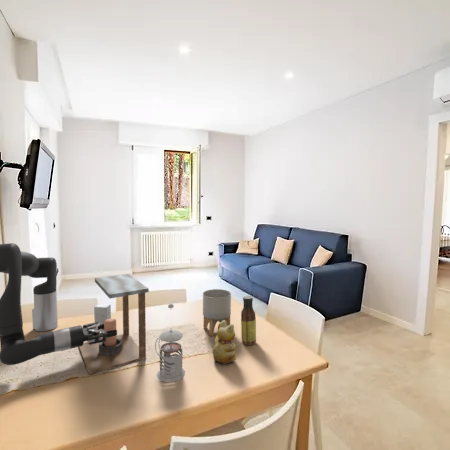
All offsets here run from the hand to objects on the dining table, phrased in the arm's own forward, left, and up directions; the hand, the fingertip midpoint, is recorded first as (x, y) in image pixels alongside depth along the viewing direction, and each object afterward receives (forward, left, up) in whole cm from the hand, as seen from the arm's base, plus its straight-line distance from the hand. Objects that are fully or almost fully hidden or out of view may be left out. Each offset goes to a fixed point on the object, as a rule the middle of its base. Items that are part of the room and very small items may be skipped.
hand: (114, 328), depth 118 cm
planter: (+38, +24, -10) cm, 46 cm away
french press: (+26, -12, -10) cm, 30 cm away
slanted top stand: (-1, -1, -9) cm, 10 cm away
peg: (-1, -1, -9) cm, 9 cm away
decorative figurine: (+44, -2, -10) cm, 45 cm away
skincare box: (-14, +17, -10) cm, 24 cm away
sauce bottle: (+53, +14, -10) cm, 56 cm away
